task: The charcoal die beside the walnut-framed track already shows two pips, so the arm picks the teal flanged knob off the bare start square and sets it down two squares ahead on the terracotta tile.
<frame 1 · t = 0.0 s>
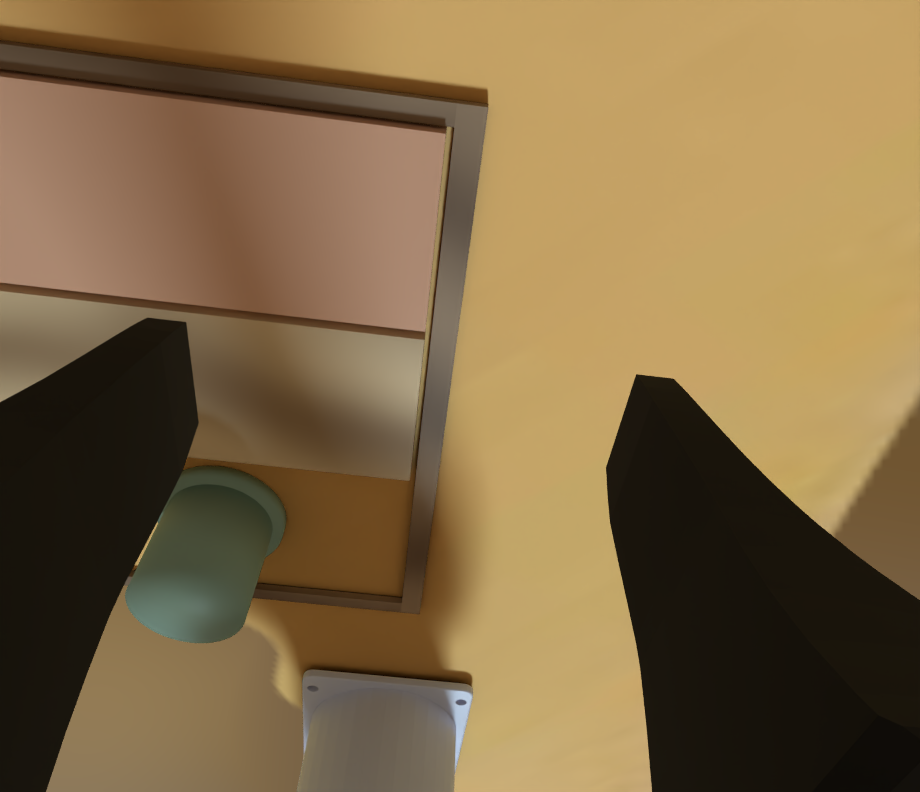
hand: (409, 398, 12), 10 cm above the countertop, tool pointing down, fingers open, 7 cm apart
board: (209, 381, 25), on the countertop
teal flanged knob: (224, 511, 28), on the countertop
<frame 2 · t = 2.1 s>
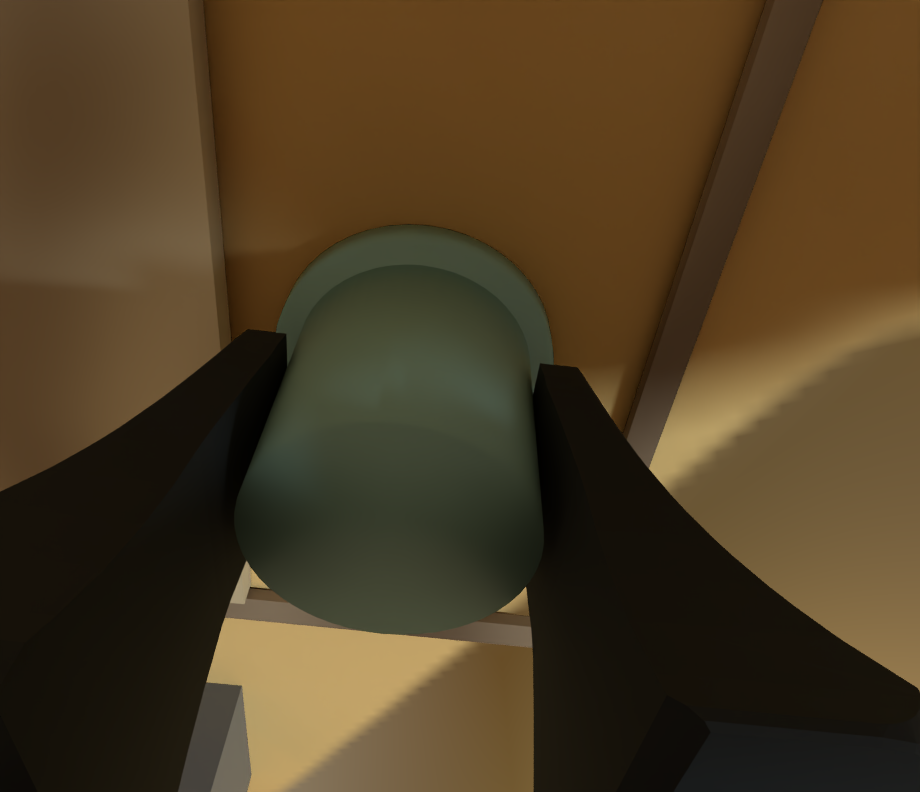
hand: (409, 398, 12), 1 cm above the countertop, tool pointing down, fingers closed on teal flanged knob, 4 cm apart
board: (57, 309, 13), on the countertop
die: (161, 722, 21), on the countertop
teal flanged knob: (416, 350, 13), on the countertop, touching gripper
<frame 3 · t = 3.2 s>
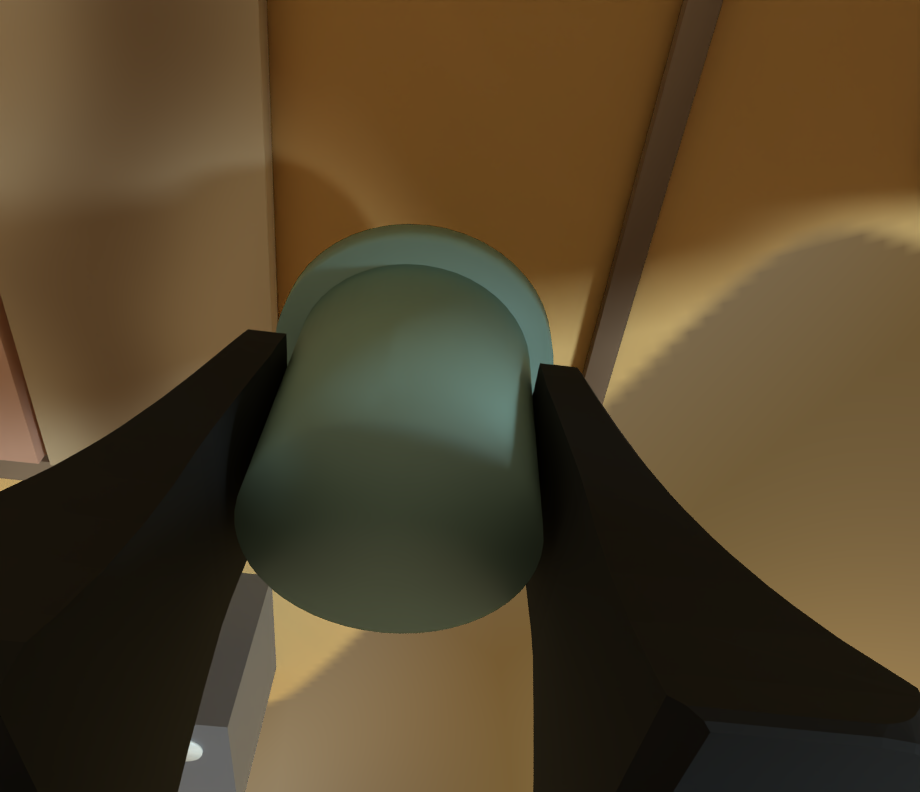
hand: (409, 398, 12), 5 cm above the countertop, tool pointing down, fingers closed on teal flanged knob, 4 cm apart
board: (135, 222, 16), on the countertop
die: (198, 615, 24), on the countertop
teal flanged knob: (416, 350, 13), point 4 cm above the countertop, touching gripper
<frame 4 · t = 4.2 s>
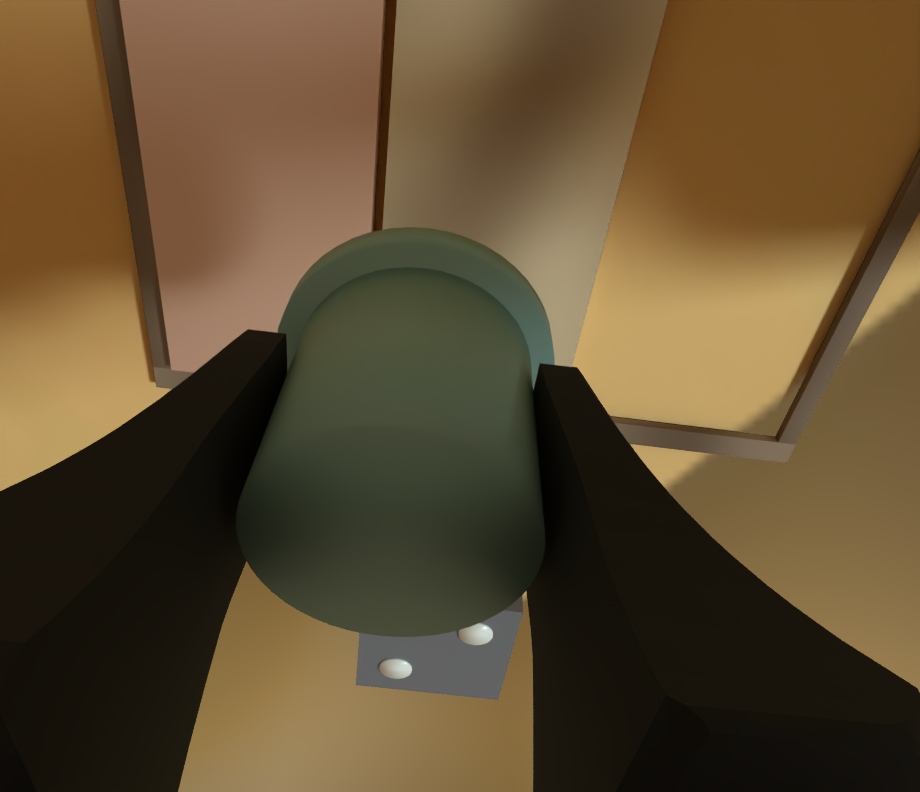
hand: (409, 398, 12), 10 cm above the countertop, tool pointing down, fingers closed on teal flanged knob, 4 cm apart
board: (499, 187, 20), on the countertop
die: (443, 536, 28), on the countertop
teal flanged knob: (417, 352, 13), point 8 cm above the countertop, touching gripper
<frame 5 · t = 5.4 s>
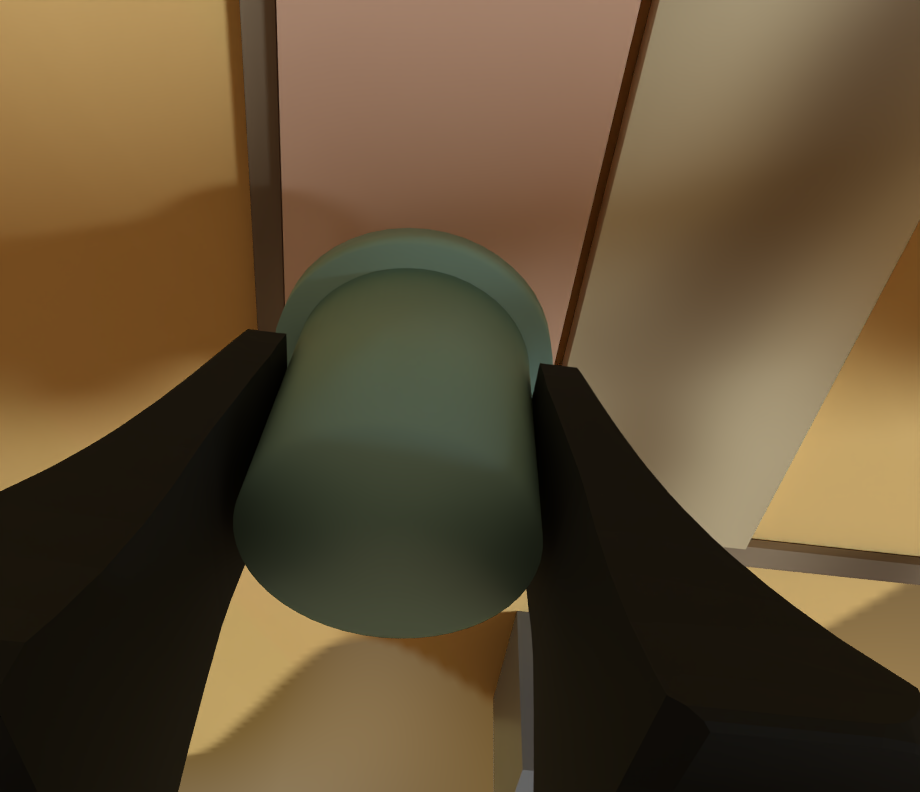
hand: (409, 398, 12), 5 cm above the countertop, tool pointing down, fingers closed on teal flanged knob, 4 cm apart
board: (716, 300, 16), on the countertop
die: (578, 662, 25), on the countertop
teal flanged knob: (415, 353, 13), point 3 cm above the countertop, touching gripper
when the fingers open (3 cm above the countertop, at t = 6.2 s): teal flanged knob drops 1 cm, resting on board.
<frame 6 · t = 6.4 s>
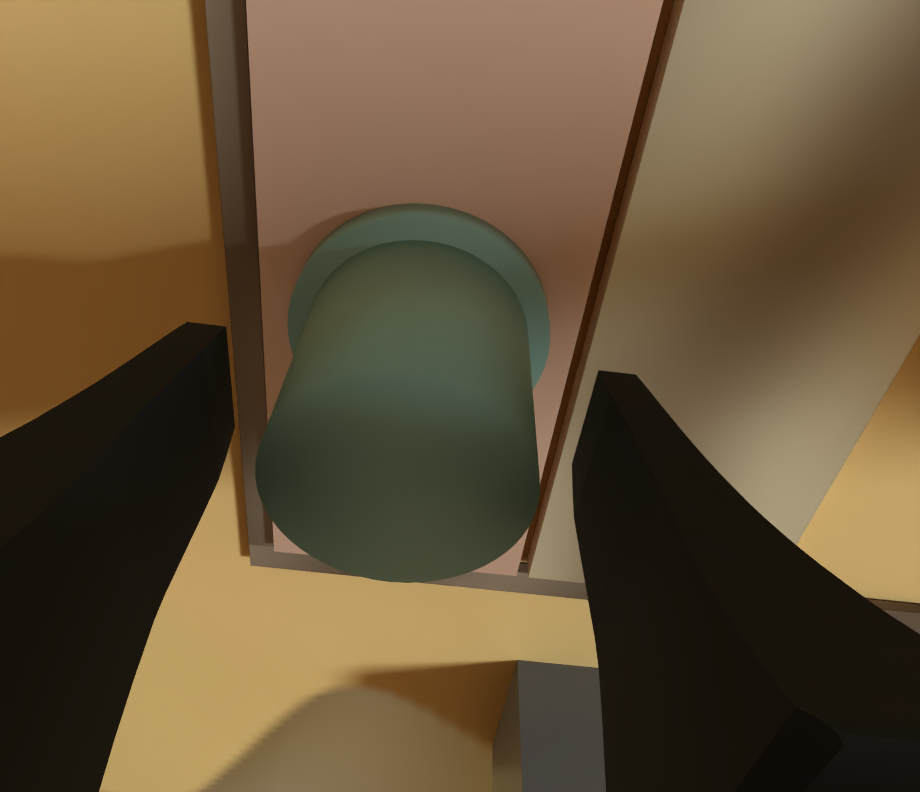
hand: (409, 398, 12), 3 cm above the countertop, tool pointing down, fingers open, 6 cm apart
board: (736, 343, 15), on the countertop
die: (582, 711, 23), on the countertop
teal flanged knob: (421, 323, 14), point 1 cm above the countertop, touching board
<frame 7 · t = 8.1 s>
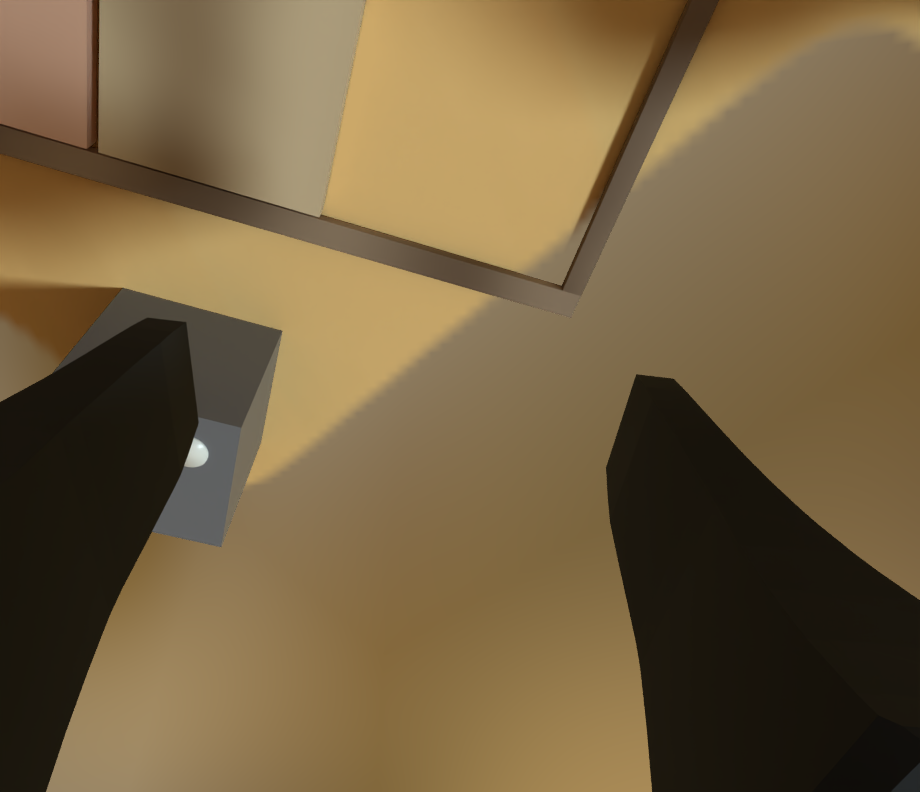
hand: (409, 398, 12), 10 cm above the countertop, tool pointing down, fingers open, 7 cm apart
die: (197, 369, 25), on the countertop
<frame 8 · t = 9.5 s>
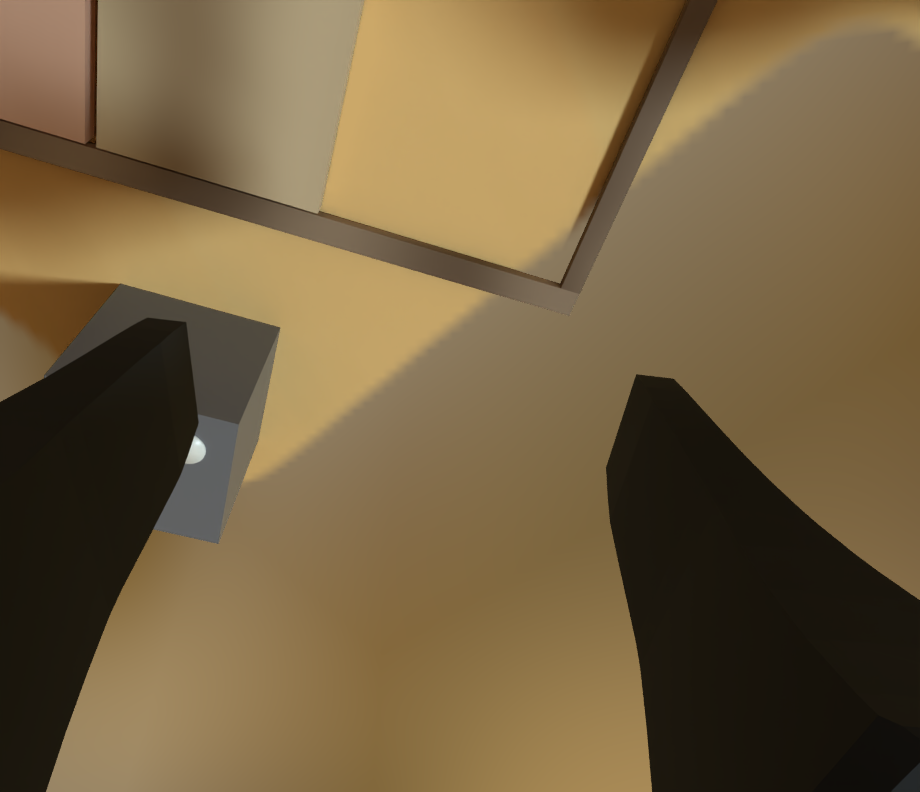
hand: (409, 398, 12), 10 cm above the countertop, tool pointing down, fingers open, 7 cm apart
die: (195, 366, 25), on the countertop
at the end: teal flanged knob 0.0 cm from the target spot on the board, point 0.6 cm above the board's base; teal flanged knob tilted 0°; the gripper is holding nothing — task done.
